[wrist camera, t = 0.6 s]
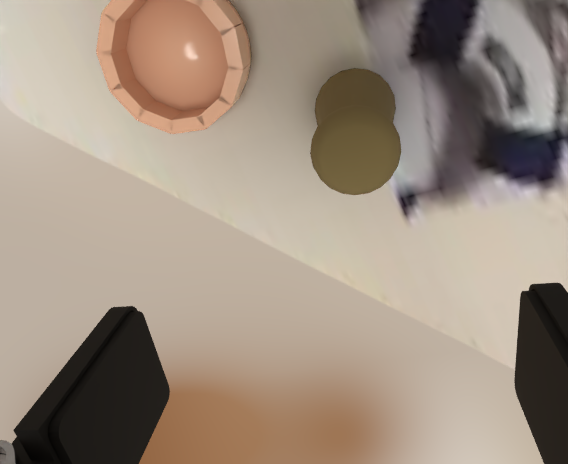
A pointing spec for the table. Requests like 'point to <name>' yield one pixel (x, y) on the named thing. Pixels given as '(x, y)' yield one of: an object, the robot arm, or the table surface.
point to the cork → (355, 132)
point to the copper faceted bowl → (174, 60)
